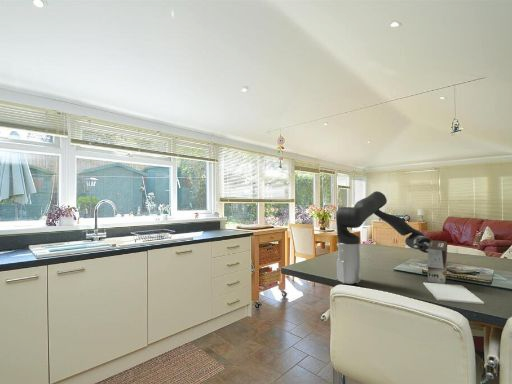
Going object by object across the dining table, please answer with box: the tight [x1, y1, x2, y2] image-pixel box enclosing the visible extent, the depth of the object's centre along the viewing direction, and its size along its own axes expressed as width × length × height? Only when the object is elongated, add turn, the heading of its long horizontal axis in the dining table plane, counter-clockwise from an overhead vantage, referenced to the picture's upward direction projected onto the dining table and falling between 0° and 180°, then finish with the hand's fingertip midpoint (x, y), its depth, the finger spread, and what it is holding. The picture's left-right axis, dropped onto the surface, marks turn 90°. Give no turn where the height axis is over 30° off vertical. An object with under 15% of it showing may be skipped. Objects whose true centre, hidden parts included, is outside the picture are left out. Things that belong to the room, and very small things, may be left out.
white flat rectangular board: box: [422, 282, 485, 305], centre depth 103 cm, size 18×14×1 cm
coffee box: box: [427, 239, 448, 284], centre depth 115 cm, size 9×6×16 cm
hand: (434, 249), depth 119 cm, fingers closed
